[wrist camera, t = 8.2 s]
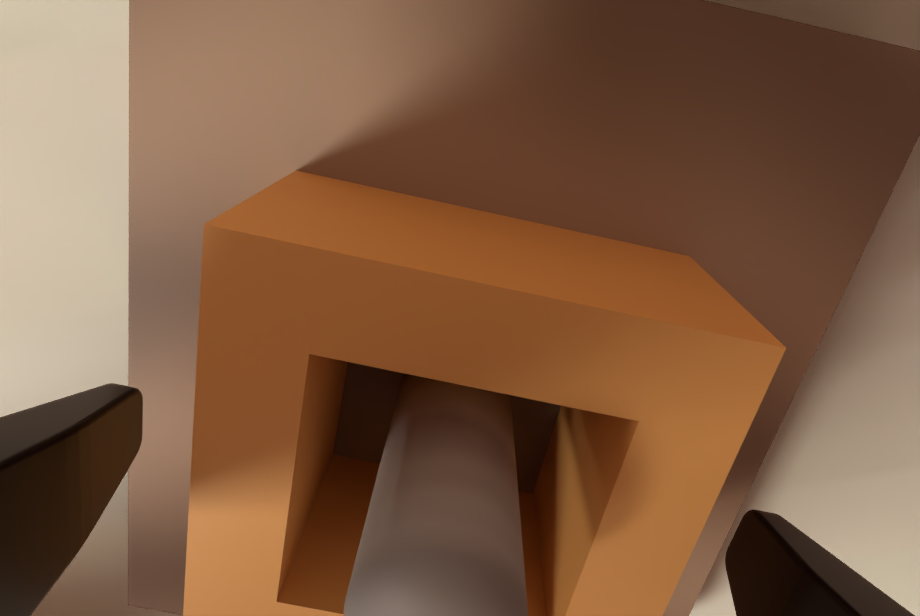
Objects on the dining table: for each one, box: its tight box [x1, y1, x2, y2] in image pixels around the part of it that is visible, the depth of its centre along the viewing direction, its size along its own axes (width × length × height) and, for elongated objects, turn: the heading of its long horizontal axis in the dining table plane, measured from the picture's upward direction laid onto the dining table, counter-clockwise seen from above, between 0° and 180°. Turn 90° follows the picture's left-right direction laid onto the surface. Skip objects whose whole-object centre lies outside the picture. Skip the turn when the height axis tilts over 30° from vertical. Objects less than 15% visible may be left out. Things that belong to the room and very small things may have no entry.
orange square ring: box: [183, 171, 786, 616], centre depth 10 cm, size 7×7×4 cm
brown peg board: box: [128, 0, 920, 616], centre depth 10 cm, size 14×12×7 cm
